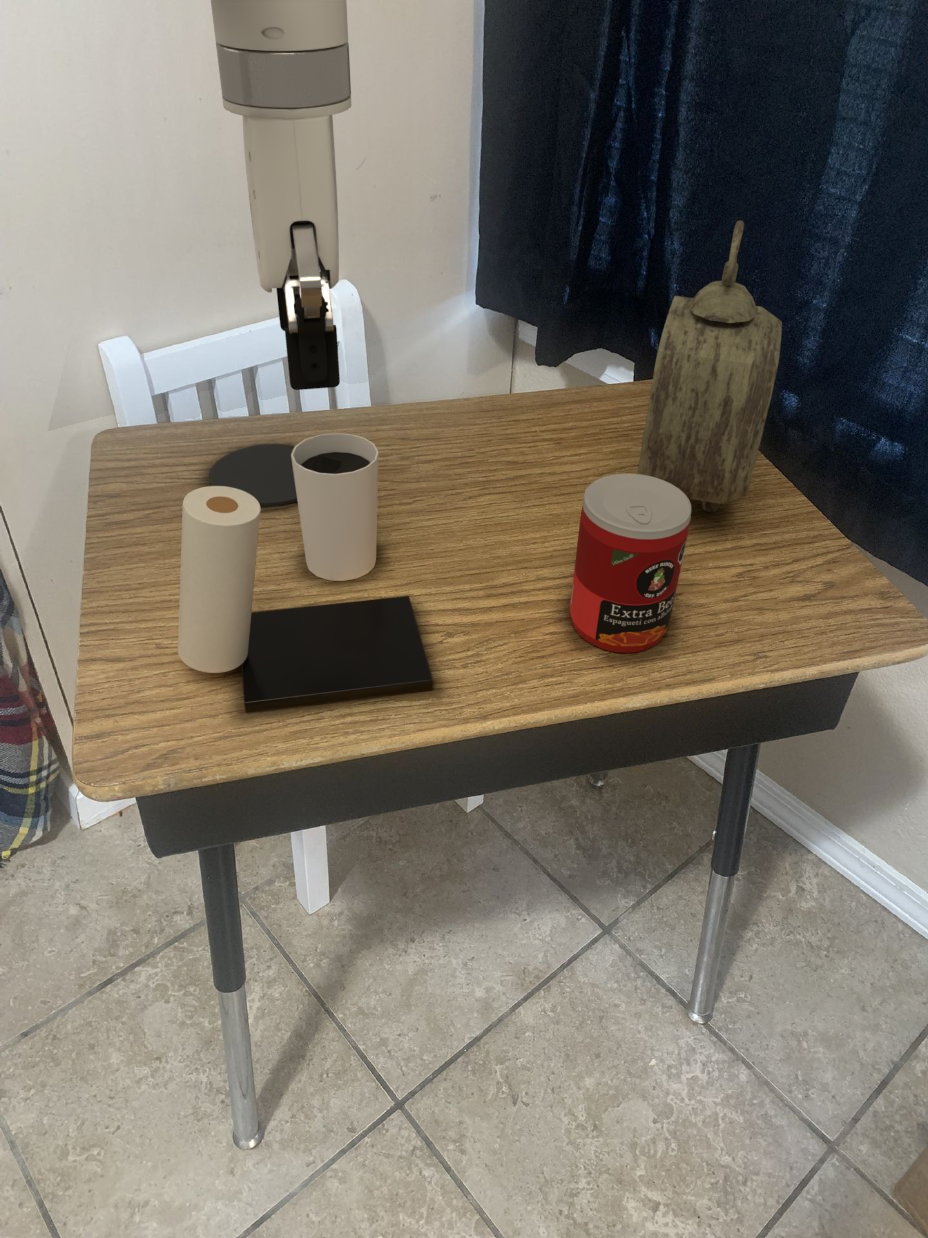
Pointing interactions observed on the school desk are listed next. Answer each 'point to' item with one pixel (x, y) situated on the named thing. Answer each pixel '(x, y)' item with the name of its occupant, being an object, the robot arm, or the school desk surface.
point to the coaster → (258, 473)
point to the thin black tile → (333, 654)
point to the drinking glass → (337, 504)
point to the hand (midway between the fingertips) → (308, 356)
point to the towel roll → (217, 577)
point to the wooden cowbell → (711, 390)
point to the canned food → (628, 561)
